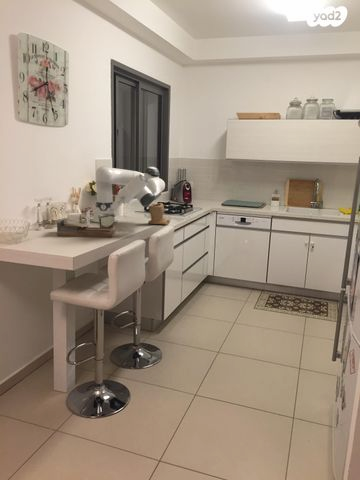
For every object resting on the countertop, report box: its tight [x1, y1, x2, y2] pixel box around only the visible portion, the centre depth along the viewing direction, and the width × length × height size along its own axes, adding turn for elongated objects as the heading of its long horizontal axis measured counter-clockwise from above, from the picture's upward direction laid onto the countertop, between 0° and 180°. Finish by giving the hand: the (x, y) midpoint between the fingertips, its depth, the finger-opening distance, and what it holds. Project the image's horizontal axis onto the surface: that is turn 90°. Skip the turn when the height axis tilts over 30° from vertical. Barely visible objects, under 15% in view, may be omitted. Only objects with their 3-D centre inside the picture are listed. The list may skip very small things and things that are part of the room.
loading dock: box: [56, 218, 116, 239], centre depth 247 cm, size 15×32×8 cm, turn 93°
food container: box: [98, 213, 116, 228], centre depth 265 cm, size 12×6×10 cm, turn 141°
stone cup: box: [147, 202, 171, 226], centre depth 291 cm, size 15×12×15 cm
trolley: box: [64, 207, 91, 229], centre depth 246 cm, size 10×13×12 cm
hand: (108, 212), depth 245 cm, fingers closed
